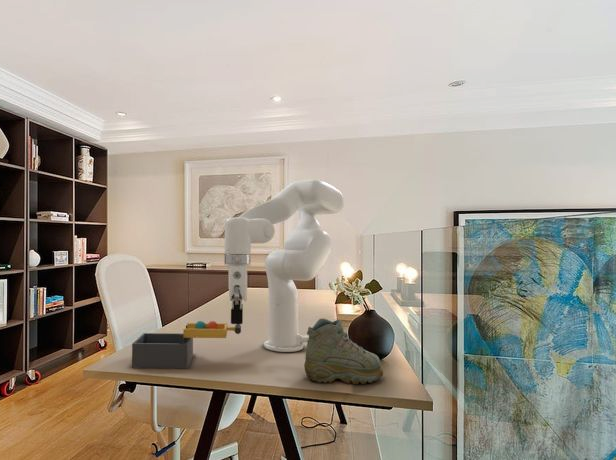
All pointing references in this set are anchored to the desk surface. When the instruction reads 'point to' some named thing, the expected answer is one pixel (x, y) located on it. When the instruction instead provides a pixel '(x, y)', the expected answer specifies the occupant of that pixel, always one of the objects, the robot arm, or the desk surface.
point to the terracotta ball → (212, 325)
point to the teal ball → (200, 325)
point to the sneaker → (338, 356)
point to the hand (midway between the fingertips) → (236, 320)
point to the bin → (162, 351)
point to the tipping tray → (209, 331)
